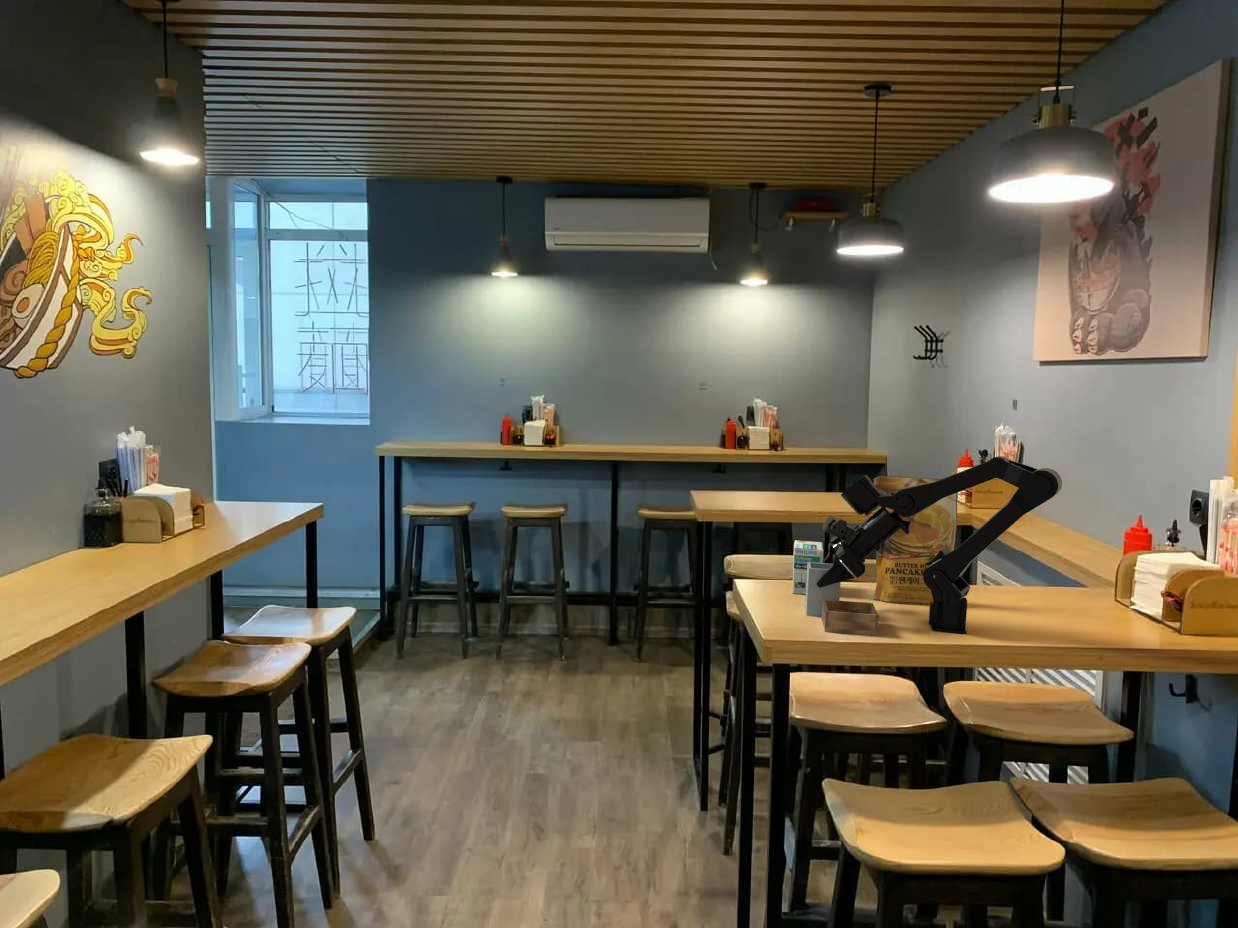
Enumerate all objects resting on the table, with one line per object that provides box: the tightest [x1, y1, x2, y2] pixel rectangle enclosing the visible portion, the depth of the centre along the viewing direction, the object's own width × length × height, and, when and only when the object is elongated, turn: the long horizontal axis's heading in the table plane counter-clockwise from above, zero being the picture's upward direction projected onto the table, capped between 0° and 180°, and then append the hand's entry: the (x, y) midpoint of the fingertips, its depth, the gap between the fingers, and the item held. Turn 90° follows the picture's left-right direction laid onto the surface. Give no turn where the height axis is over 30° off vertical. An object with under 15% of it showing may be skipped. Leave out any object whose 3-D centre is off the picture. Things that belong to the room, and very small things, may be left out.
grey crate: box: [804, 562, 842, 618], centre depth 188 cm, size 6×6×10 cm
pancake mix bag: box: [872, 475, 959, 606], centre depth 200 cm, size 7×19×28 cm, turn 84°
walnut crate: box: [821, 599, 879, 637], centre depth 178 cm, size 10×10×4 cm
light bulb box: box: [791, 539, 824, 595], centre depth 209 cm, size 11×7×11 cm, turn 168°
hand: (816, 581), depth 188 cm, fingers open, 9 cm apart
